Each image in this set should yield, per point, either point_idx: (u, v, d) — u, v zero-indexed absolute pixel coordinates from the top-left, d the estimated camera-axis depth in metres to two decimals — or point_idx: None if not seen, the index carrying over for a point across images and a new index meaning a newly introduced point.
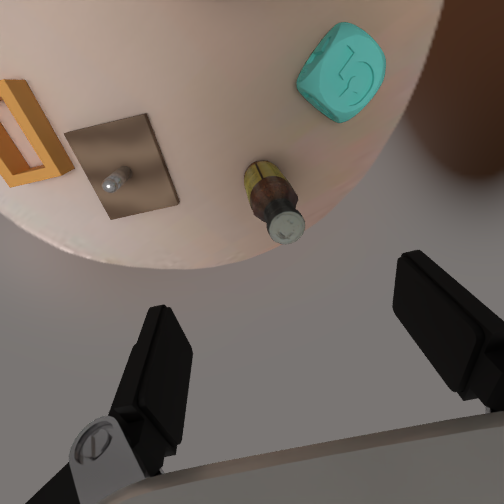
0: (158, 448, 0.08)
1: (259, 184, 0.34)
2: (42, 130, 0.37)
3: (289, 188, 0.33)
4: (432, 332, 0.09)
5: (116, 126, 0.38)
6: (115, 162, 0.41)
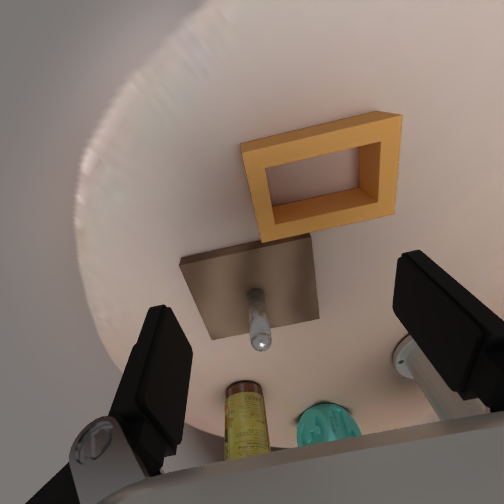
0: (158, 448, 0.08)
1: None
2: None
3: None
4: (432, 332, 0.09)
5: (311, 293, 0.31)
6: (268, 286, 0.30)
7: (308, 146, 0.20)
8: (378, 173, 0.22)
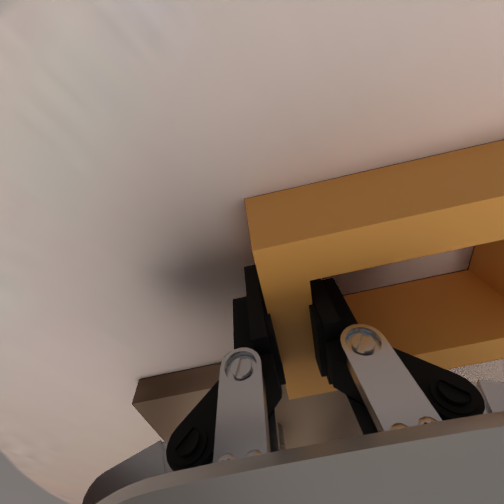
0: (278, 381, 0.09)
1: None
2: None
3: None
4: None
5: None
6: (290, 419, 0.18)
7: (429, 231, 0.08)
8: None
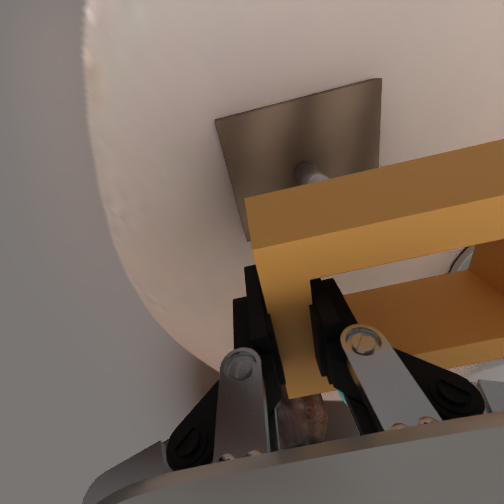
0: (278, 381, 0.09)
1: None
2: None
3: None
4: None
5: None
6: (321, 158, 0.24)
7: (429, 230, 0.07)
8: None
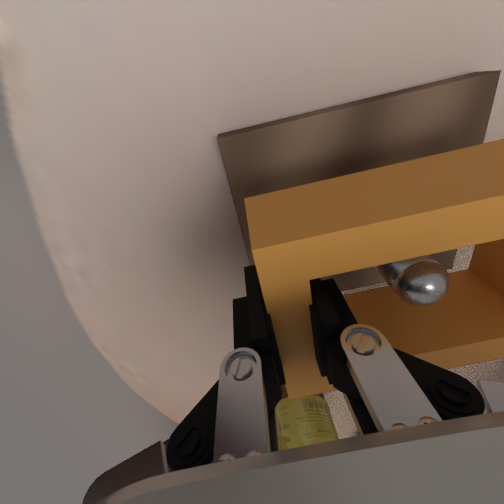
0: (278, 382, 0.09)
1: None
2: None
3: None
4: None
5: None
6: None
7: (429, 230, 0.07)
8: None
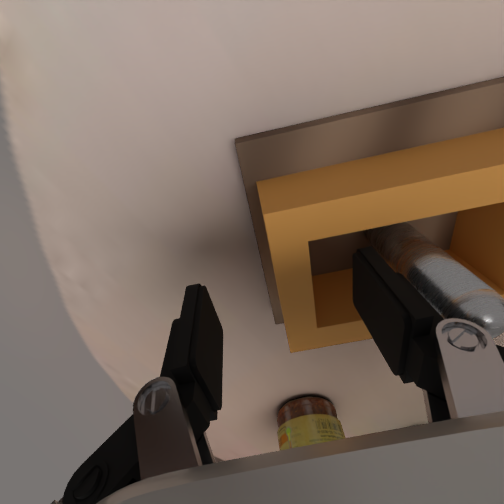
0: (206, 410, 0.08)
1: None
2: None
3: None
4: (378, 321, 0.10)
5: None
6: None
7: (401, 201, 0.10)
8: None
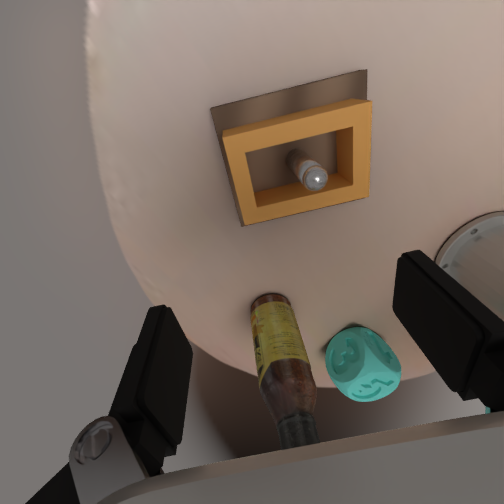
0: (158, 448, 0.08)
1: (308, 369, 0.29)
2: None
3: None
4: (432, 332, 0.09)
5: None
6: (311, 146, 0.26)
7: (285, 131, 0.21)
8: (352, 157, 0.23)
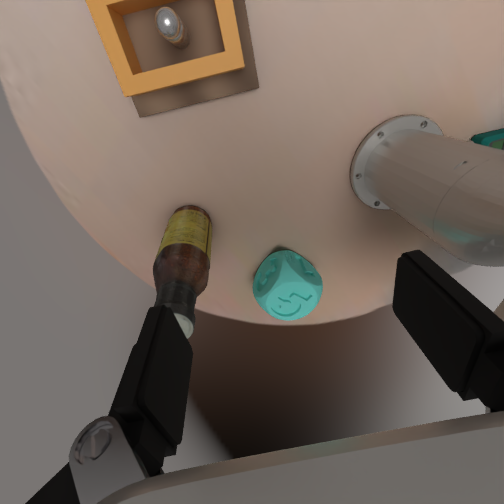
0: (158, 448, 0.08)
1: (200, 254, 0.29)
2: (185, 82, 0.27)
3: (203, 290, 0.29)
4: (432, 332, 0.09)
5: (245, 40, 0.27)
6: (193, 21, 0.26)
7: None
8: (218, 17, 0.23)
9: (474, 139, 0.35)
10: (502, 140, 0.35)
